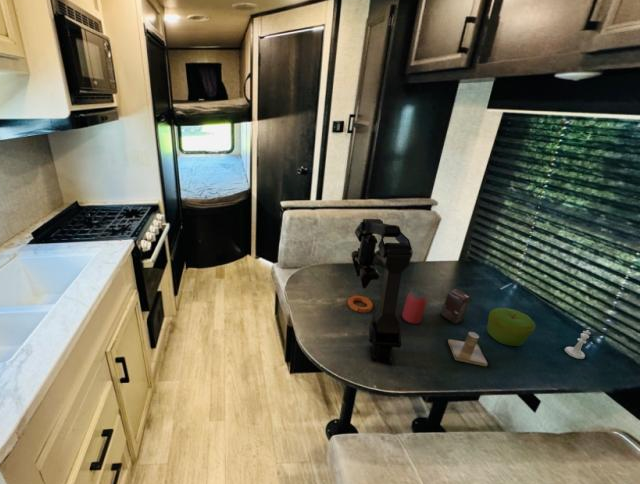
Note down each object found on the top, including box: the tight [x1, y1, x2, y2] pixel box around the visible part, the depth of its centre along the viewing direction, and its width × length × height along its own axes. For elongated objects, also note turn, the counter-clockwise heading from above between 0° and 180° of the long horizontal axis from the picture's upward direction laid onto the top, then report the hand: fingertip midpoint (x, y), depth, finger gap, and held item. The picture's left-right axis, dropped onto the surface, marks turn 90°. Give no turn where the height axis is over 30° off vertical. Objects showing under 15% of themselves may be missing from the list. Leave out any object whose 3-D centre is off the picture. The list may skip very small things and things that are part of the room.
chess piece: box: [564, 329, 592, 360], centre depth 104 cm, size 5×5×10 cm
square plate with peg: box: [447, 331, 488, 367], centre depth 105 cm, size 9×9×8 cm
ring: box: [347, 295, 374, 313], centre depth 131 cm, size 9×9×2 cm
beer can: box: [401, 289, 428, 324], centre depth 120 cm, size 7×7×12 cm
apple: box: [486, 307, 537, 347], centre depth 110 cm, size 12×12×11 cm
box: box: [440, 287, 471, 325], centre depth 121 cm, size 6×4×12 cm
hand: (361, 282), depth 130 cm, fingers open, 9 cm apart
